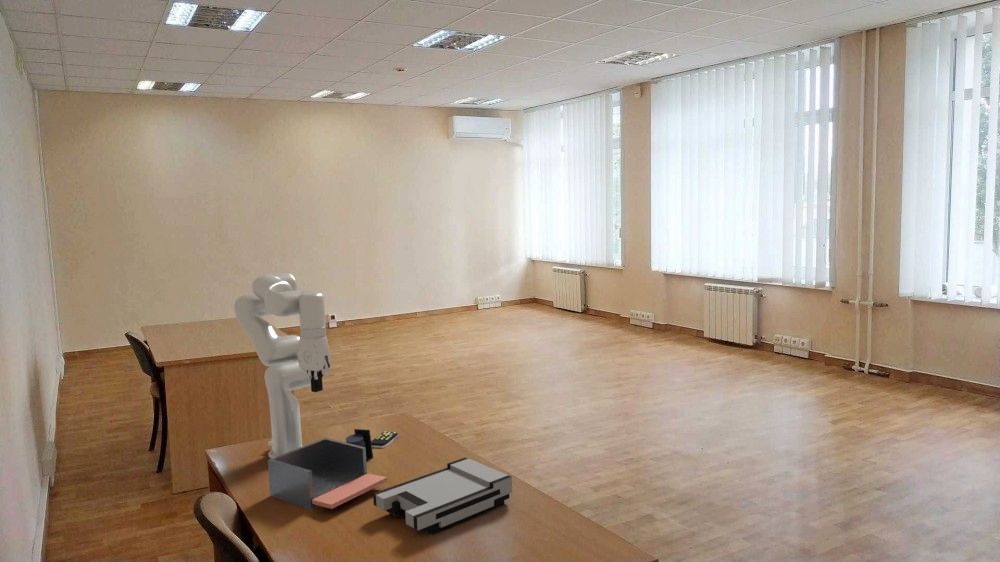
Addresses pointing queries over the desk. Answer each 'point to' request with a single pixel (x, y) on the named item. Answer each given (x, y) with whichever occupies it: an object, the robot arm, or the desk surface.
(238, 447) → the desk surface
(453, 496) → the game console
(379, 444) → the remote control
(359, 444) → the speaker
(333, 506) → the tailgate
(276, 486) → the box
